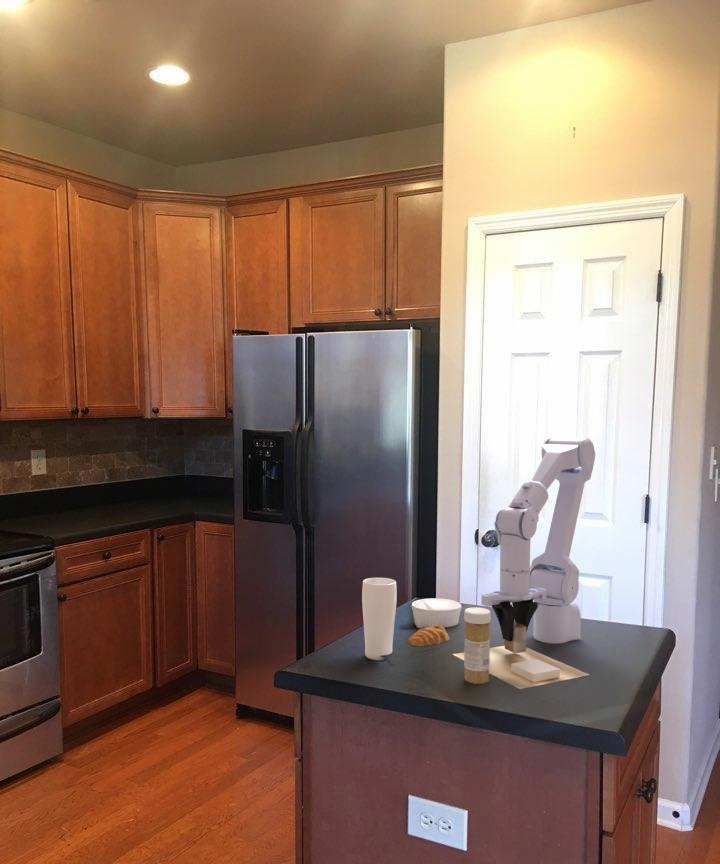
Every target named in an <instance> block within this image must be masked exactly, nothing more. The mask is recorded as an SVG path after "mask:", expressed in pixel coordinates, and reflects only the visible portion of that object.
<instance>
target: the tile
mask: <svg viewBox="0 0 720 864" xmlns="http://www.w3.org/2000/svg"><path fill="white" fill-rule="evenodd" d="M511 671H512V672H513V673H515V674H517V675H519V676H521V677H523V678H525V679H527V680H530V681H532V682H539V681H544V680H549V679H554V678H558V677H560V669H559V668H556V667H554V666H552V665H550V664H547V663H545V662H543V661H541V660H538V659H534V660H529V661H523V662H518V663H512V664H511Z"/></svg>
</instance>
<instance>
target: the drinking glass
mask: <svg viewBox="0 0 720 864" xmlns="http://www.w3.org/2000/svg"><path fill="white" fill-rule="evenodd" d="M361 589H362V590H361V591H362V592H361V602H362V604H361V605H362V619H363V631H364V633H363V634H364V648H365V649H364V654H365V657H366V658H368V659H369V660H373V661H386V660H387V659H386V657H384V656H388V655H390V654H392V653H393V640H394V634H395V633H394V631H395V623H396V622H395V620H396V609H397V596H398V595H397V594H398V593H397V590H398V589H397V581H396V580H395V579H393V578H390V577H389V578H388V577H369V578H365V579H363V581H362V588H361Z"/></svg>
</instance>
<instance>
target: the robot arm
mask: <svg viewBox="0 0 720 864" xmlns="http://www.w3.org/2000/svg"><path fill="white" fill-rule="evenodd" d="M541 459H542V460H541V461H540V463H539V465H538V467H537V469H536V472H535V473H534V475H533V477H532V479H531V480H529V481H527V480H526V481H525V482H524V483H522V485H521V486H520V488H519V490H518V491H517V493H516V494H515V495H514V497H513V499H512V501H511V502H510V503H509V505H508V507H503V508H502V509H500V510H499V511H498V512H497V514H496V516H495V521H494V522H493V525H494V531H495V533H496V535H497V543H498V545H499V546H500V547H499V549H500V550H499V551H500V552H499V553H500V554H499V555H500V557H499V589H498V590H494V591H492V592H488V593H483V594H481V605H482V606H486V607H489V608H490V607H491V608H492V610H493V612H494V614H495V616H496V618H497V621H498V624H499V626H500V632H501V635H502V639H503V640H504V641H505V640H507V641H512V639H513V628H514V622H518V623H520V624H523V625H524V626H525V627H526V634H527V632H528V629H529V626H530V622H531V620H532V618H533V633H532V634H533V635H532V636H533V639H534V640H536V641H539V642H542V643H546V644H564V643H568V642H570V641H576V640H581V634H582V633H581V629H582V628H581V626H582V625H581V621H582V619H581V617H582V615H581V609H580V607H579V605H578V604H577V602H575V600H576V599H577V596H578V594H579V588H580V584H579V583H580V582H579V579H580V578H579V577H580V569H579V568H578V566H577V565H576V564H575V563H574V562H573V561H572V560H571V559H570V555H571V550H572V545H573V541H574V536H575V531H576V525H577V521H578V517H579V511H580V507H581V502H582V497H583V494H584V488H585V484H586V482H588V481H590V480H591V477H592V474H593V470H594V465H595V460H596V451H595V445H594V443H593V442H592V440H591V439H590V438H589V437H585V438H575V437H574V438H572V437H571V438H568V437H566V438H565V437H564V438H563V437H552V436H549V437H547V438H546V439H545V440H544V442H543V445H542V446H541ZM555 480H557V481H558V483H559V487H558V491H557V495H556V499H555V504H554V508H553V514H552V518H551V522H550V528H549V531H548V536H547V540H546V544H545V549H544V552H543V553H541V554H540V555H538V556H536V557H535V558H533V559H532V561H531V539H532V538H533V537H534V535H536V531H537V527H538V522H539V519H540V517H539V514H540V513H541V511H542V510H543V508H544V506H545V504H546V503H547V501H548V500H549V492H548V490H549V488H550V487H551V486H552V484H553V483H554V482H555Z"/></svg>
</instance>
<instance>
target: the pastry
mask: <svg viewBox="0 0 720 864" xmlns="http://www.w3.org/2000/svg"><path fill="white" fill-rule="evenodd" d="M449 640H451V639H450V637H449V634H448V633H447V630H446V629H445V627H442V626H439V625H437V626H431V627H424V628H419V629H418V630H417V631H416V632H415V633H413V634H412V635H411V636H409V638H408V639H407V644H408V645H410V646H413V647H425V646H432V645H439V644H442V643H444V642H447V641H449Z"/></svg>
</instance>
